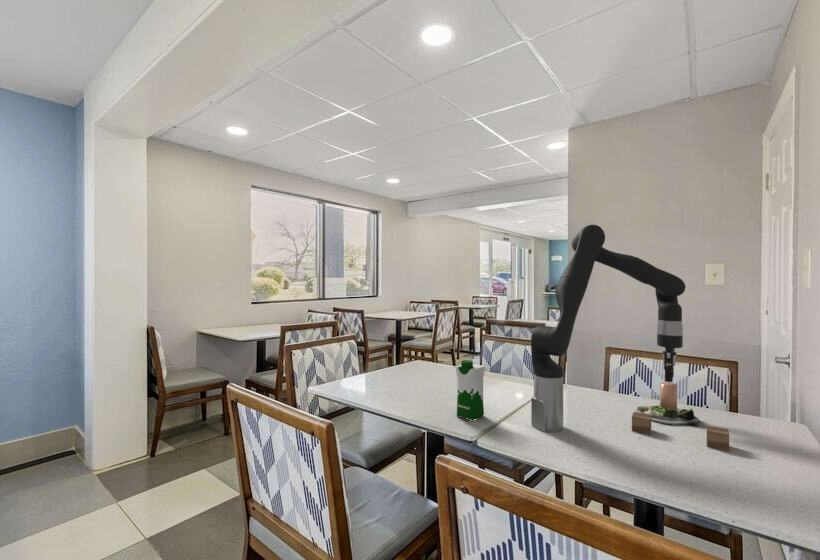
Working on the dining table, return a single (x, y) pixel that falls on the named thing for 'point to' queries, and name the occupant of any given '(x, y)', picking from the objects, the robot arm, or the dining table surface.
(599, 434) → the dining table surface
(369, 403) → the dining table surface
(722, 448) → the front walnut cube
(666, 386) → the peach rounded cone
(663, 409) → the salad plate
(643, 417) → the back walnut cube
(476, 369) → the milk carton
